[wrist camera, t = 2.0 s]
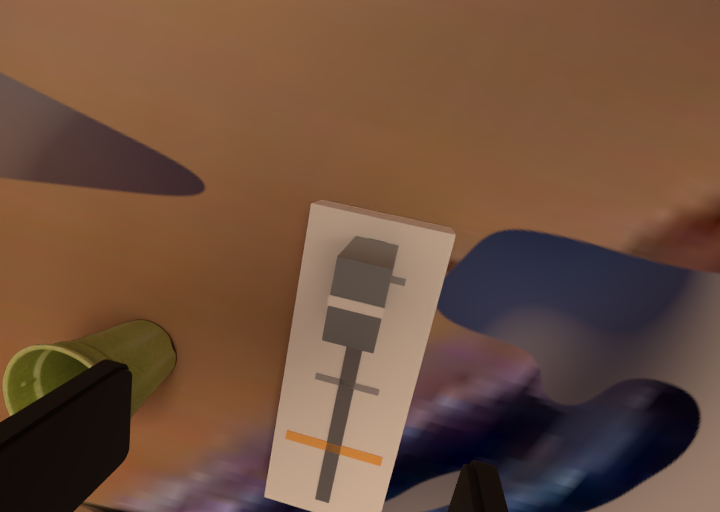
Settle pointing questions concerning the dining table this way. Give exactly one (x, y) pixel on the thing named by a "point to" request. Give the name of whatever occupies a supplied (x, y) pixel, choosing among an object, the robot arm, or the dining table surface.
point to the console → (353, 365)
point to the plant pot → (91, 362)
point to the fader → (359, 293)
